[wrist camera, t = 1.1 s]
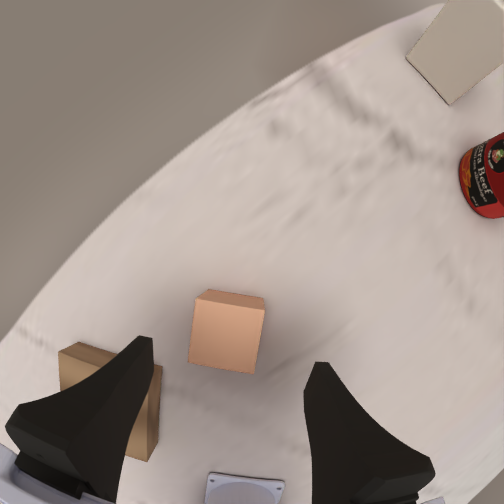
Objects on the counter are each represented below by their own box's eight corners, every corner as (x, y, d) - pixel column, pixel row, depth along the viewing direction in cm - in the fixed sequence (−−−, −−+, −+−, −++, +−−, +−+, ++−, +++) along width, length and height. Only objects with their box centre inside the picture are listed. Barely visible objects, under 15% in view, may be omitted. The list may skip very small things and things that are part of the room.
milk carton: (432, 42, 24) (504, -49, 5) (471, 84, 24) (562, 10, 5) (404, 58, 24) (485, -52, 5) (448, 106, 24) (557, 19, 5)
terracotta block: (254, 349, 24) (253, 374, 19) (201, 340, 24) (187, 362, 19) (263, 298, 24) (265, 310, 19) (208, 289, 25) (195, 298, 19)
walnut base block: (158, 440, 25) (147, 462, 21) (83, 414, 25) (65, 430, 21) (163, 365, 25) (148, 382, 21) (80, 340, 25) (58, 351, 21)
